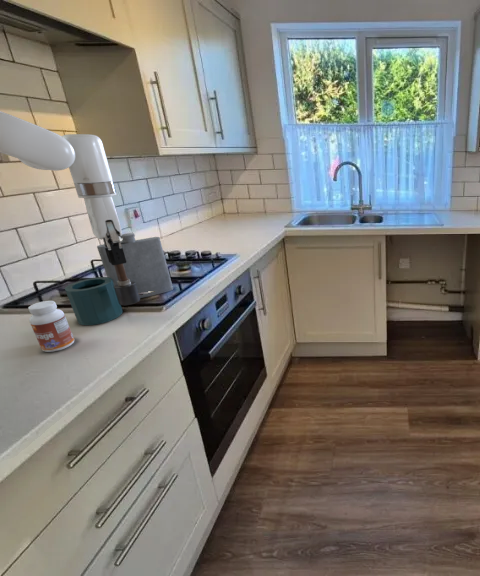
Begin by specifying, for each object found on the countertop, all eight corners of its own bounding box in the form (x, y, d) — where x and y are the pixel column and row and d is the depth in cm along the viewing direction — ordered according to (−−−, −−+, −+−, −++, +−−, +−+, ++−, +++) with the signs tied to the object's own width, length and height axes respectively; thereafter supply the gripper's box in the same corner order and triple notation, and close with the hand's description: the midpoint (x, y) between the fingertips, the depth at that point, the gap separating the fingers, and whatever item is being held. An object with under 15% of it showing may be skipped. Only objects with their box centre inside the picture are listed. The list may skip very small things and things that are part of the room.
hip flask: (172, 287, 121) (156, 228, 113) (174, 290, 118) (158, 230, 110) (115, 299, 113) (94, 237, 105) (115, 303, 109) (93, 239, 102)
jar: (81, 329, 95) (67, 294, 91) (75, 317, 102) (62, 284, 98) (126, 316, 102) (115, 283, 98) (118, 305, 108) (107, 274, 104)
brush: (121, 306, 95) (102, 245, 88) (117, 301, 98) (98, 242, 91) (142, 301, 98) (125, 241, 91) (137, 296, 101) (120, 238, 95)
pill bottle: (35, 352, 85) (15, 310, 80) (59, 339, 90) (41, 298, 86) (59, 353, 84) (40, 310, 80) (81, 339, 90) (65, 299, 86)
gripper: (71, 188, 89) (94, 259, 96) (81, 194, 79) (106, 273, 86) (108, 186, 94) (127, 253, 101) (122, 191, 84) (142, 266, 91)
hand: (117, 262), depth 93 cm, fingers closed on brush
